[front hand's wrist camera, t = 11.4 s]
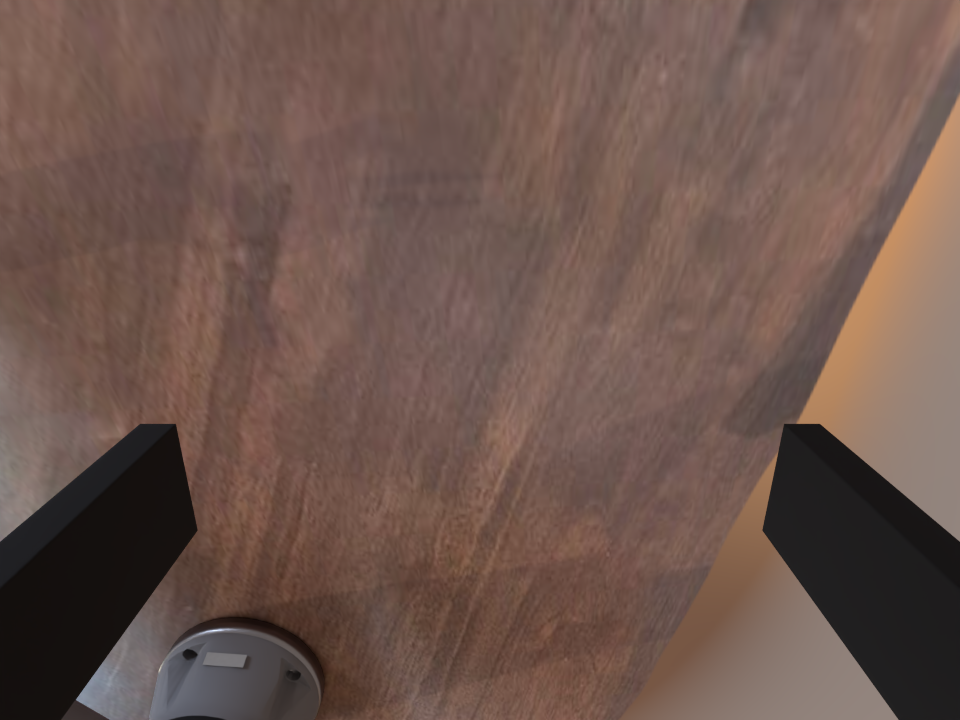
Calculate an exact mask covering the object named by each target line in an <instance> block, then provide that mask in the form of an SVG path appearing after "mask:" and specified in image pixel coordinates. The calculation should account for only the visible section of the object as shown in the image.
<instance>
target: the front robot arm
mask: <svg viewBox="0 0 960 720" xmlns="http://www.w3.org/2000/svg"><path fill="white" fill-rule="evenodd" d="M196 532H197V525H196V520H195V516H194V511H193V506H192V501H191V496H190V491H189V486H188V481H187V477H186V472H185V467H184V462H183V457H182V452H181V447H180V442H179V437H178V433H177V428H176V424H140V425H138V426H137V427H136V428H135V429H134V430H133V431H131V432H130V433H129V434H128V435H127V436H125V437H124V438H123V439H122V440H121V441H119V442H118V443H117V444H116V445H115V446H113V447H112V448H111V449H110V450H109V451H108V452H106V453H105V454H104V455H103V456H102V457H100V458H99V459H98V460H97V461H96V462H94V463H93V464H92V465H91V466H90V467H89V468H87V469H86V470H85V471H84V472H83V473H81V474H80V475H79V476H78V477H77V478H75V479H74V480H73V481H72V482H71V483H70V484H68V485H67V486H66V487H65V488H64V489H62V490H61V491H60V492H59V493H58V494H56V495H55V496H54V497H53V498H52V499H51V500H49V501H48V502H47V503H46V504H45V505H43V506H42V507H41V508H40V509H39V510H37V511H36V512H35V513H34V514H33V515H32V516H30V517H29V518H28V519H27V520H26V521H24V522H23V523H22V524H21V525H20V526H18V527H17V528H16V529H15V530H14V531H13V532H11V533H10V534H9V535H8V536H7V537H5V538H4V539H3V540H2V541H1V542H0V720H109V719H107V718H106V717H104V716H102V715H100V714H99V713H97V712H95V711H94V710H92V709H90V708H88V707H87V706H85V705H83V704H82V703H80V702H78V701H76V699H77V697H78V696H79V694H80V693H81V692H82V690H83V689H84V687H85V686H86V685H87V683H88V682H89V680H90V679H91V678H92V676H93V675H94V674H95V672H96V671H97V669H98V668H99V667H100V665H101V664H102V662H103V661H104V660H105V658H106V657H107V655H108V654H109V653H110V651H111V650H112V649H113V647H114V646H115V644H116V643H117V642H118V640H119V639H120V637H121V636H122V635H123V633H124V632H125V630H126V629H127V628H128V626H129V625H130V624H131V622H132V621H133V619H134V618H135V617H136V615H137V614H138V612H139V611H140V610H141V608H142V607H143V605H144V604H145V603H146V601H147V600H148V599H149V597H150V596H151V594H152V593H153V592H154V590H155V589H156V587H157V586H158V585H159V583H160V582H161V580H162V579H163V578H164V576H165V575H166V574H167V572H168V571H169V569H170V568H171V567H172V565H173V564H174V562H175V561H176V560H177V558H178V557H179V555H180V554H181V553H182V551H183V550H184V549H185V547H186V546H187V544H188V543H189V542H190V540H191V539H192V537H193V536H194V535H195V533H196ZM763 532H764V533H765V535H766V536H767V537H768V539H769V540H770V541H771V543H772V544H773V546H774V547H775V548H776V550H777V551H778V553H779V554H780V555H781V557H782V558H783V560H784V561H785V562H786V564H787V565H788V567H789V568H790V569H791V571H792V572H793V573H794V575H795V576H796V578H797V579H798V580H799V582H800V583H801V585H802V586H803V587H804V589H805V590H806V592H807V593H808V594H809V596H810V597H811V598H812V600H813V601H814V603H815V604H816V605H817V607H818V608H819V610H820V611H821V612H822V614H823V615H824V617H825V618H826V619H827V621H828V622H829V624H830V625H831V626H832V628H833V629H834V630H835V632H836V633H837V635H838V636H839V637H840V639H841V640H842V642H843V643H844V644H845V646H846V647H847V649H848V650H849V651H850V653H851V654H852V655H853V657H854V658H855V660H856V661H857V662H858V664H859V665H860V667H861V668H862V669H863V671H864V672H865V674H866V675H867V676H868V678H869V679H870V680H871V682H872V683H873V685H874V686H875V687H876V689H877V690H878V692H879V693H880V694H881V696H882V697H883V699H884V700H885V701H886V703H887V704H888V705H889V707H890V708H891V710H892V711H893V712H894V714H895V715H896V717H897V718H898V719H899V720H960V542H959V541H958V540H957V539H956V538H955V537H953V536H952V535H951V534H950V533H949V532H947V531H946V530H945V529H944V528H943V527H942V526H940V525H939V524H938V523H937V522H936V521H934V520H933V519H932V518H931V517H930V516H928V515H927V514H926V513H925V512H924V511H923V510H921V509H920V508H919V507H918V506H917V505H915V504H914V503H913V502H912V501H911V500H909V499H908V498H907V497H906V496H905V495H904V494H902V493H901V492H900V491H899V490H897V489H896V488H895V487H894V486H893V485H892V484H890V483H889V482H888V481H887V480H886V479H885V478H883V477H882V476H881V475H880V474H879V473H877V472H876V471H875V470H874V469H873V468H871V467H870V466H869V465H868V464H867V463H865V462H864V461H863V460H862V459H861V458H860V457H858V456H857V455H856V454H855V453H854V452H852V451H851V450H850V449H849V448H848V447H846V446H845V445H844V444H843V443H842V442H841V441H839V440H838V439H837V438H836V437H835V436H833V435H832V434H831V433H830V432H829V431H827V430H826V429H825V428H824V427H823V426H822V425H820V424H784V428H783V433H782V437H781V442H780V447H779V452H778V457H777V462H776V467H775V472H774V477H773V481H772V486H771V491H770V496H769V501H768V506H767V511H766V516H765V520H764V525H763ZM323 692H324V675H323V671H322V668H321V666H320V664H319V662H318V660H317V658H316V657H315V655H314V654H313V652H312V651H311V650H310V649H309V648H308V647H307V646H306V645H305V644H304V643H303V642H302V641H301V640H300V639H298V638H297V637H295V636H294V635H293V634H291V633H289V632H288V631H286V630H284V629H282V628H280V627H277V626H275V625H272V624H269V623H266V622H263V621H259V620H254V619H247V618H222V619H216V620H211V621H207V622H204V623H201V624H199V625H197V626H195V627H193V628H191V629H189V630H188V631H187V632H185V633H184V634H183V635H182V636H181V637H179V638H178V640H177V641H176V642H175V643H174V645H173V646H172V648H171V650H170V651H169V653H168V655H167V656H166V658H165V660H164V661H163V663H162V665H161V667H160V670H159V673H158V678H157V683H156V688H155V692H154V697H153V702H152V707H151V712H150V716H149V720H315V718H316V716H317V714H318V710H319V707H320V703H321V700H322V696H323Z"/></svg>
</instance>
